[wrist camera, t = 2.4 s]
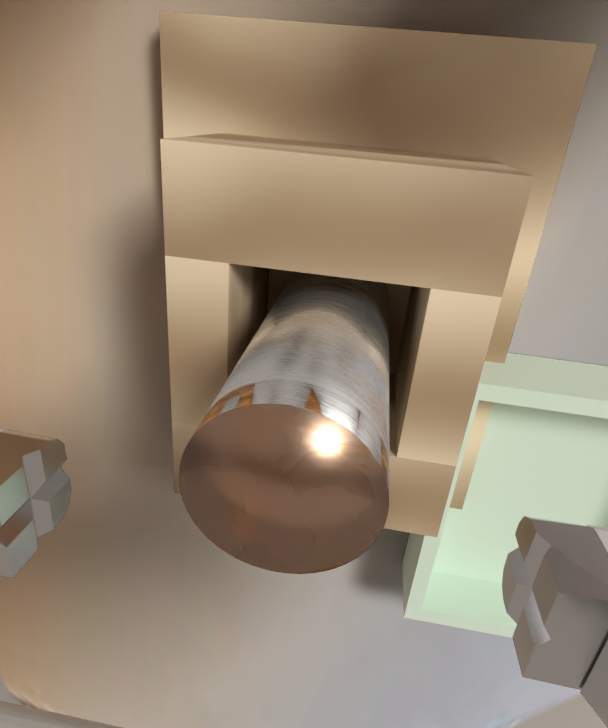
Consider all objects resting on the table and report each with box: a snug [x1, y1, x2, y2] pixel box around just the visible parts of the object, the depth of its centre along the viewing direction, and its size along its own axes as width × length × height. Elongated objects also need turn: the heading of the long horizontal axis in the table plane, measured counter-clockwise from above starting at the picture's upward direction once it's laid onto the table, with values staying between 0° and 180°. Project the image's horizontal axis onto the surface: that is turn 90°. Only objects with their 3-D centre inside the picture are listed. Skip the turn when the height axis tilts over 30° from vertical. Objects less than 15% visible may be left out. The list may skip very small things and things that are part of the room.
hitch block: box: [159, 11, 597, 537], centre depth 16 cm, size 16×12×6 cm
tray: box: [402, 353, 608, 638], centre depth 19 cm, size 11×9×3 cm
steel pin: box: [179, 272, 389, 574], centre depth 13 cm, size 4×4×10 cm
